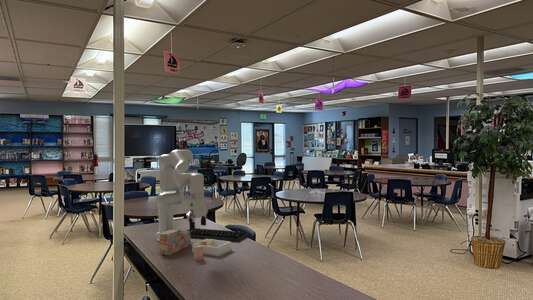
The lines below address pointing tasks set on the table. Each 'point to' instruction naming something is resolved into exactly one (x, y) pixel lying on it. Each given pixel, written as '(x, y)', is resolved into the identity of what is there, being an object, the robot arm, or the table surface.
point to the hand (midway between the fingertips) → (198, 227)
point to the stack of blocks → (174, 241)
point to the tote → (214, 248)
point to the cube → (206, 242)
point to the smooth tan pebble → (198, 253)
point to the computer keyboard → (217, 234)
